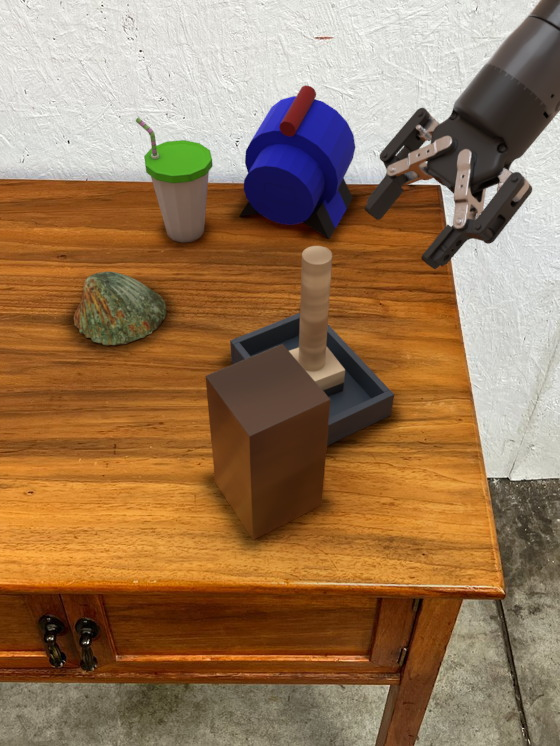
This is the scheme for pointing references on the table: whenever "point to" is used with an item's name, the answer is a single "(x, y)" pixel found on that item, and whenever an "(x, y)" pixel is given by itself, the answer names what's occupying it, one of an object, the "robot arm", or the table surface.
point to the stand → (268, 438)
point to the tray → (361, 386)
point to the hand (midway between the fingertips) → (398, 239)
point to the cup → (179, 184)
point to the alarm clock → (300, 164)
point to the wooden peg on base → (317, 322)
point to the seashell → (118, 309)
